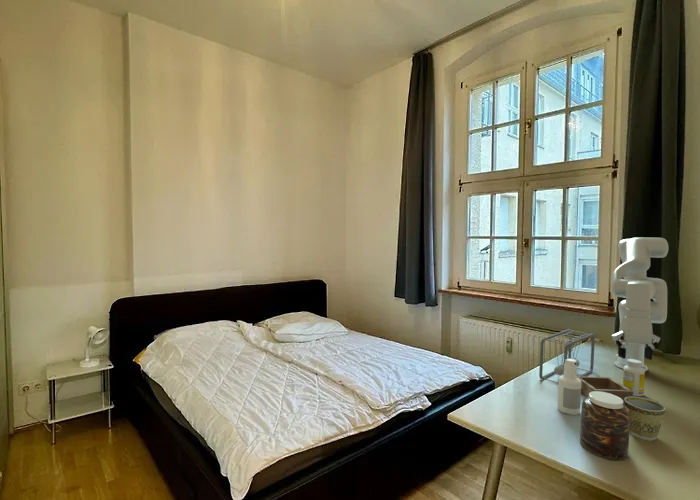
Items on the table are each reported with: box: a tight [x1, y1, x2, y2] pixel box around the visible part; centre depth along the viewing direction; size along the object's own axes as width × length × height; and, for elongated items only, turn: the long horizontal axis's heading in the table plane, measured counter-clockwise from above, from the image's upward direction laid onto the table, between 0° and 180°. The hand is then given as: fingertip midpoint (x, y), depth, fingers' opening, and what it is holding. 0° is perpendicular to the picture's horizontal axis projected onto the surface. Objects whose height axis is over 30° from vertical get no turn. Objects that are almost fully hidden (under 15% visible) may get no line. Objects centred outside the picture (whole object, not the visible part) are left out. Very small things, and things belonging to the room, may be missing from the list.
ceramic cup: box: [624, 396, 666, 442], centre depth 117 cm, size 13×10×10 cm
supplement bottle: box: [622, 359, 646, 397], centre depth 147 cm, size 7×7×13 cm
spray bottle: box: [557, 358, 582, 416], centre depth 132 cm, size 7×7×18 cm
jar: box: [579, 391, 630, 461], centre depth 109 cm, size 12×12×15 cm
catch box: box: [577, 375, 633, 406], centre depth 144 cm, size 13×13×5 cm
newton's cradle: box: [538, 328, 596, 385], centre depth 164 cm, size 30×10×18 cm, turn 129°
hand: (634, 358), depth 146 cm, fingers open, 9 cm apart
